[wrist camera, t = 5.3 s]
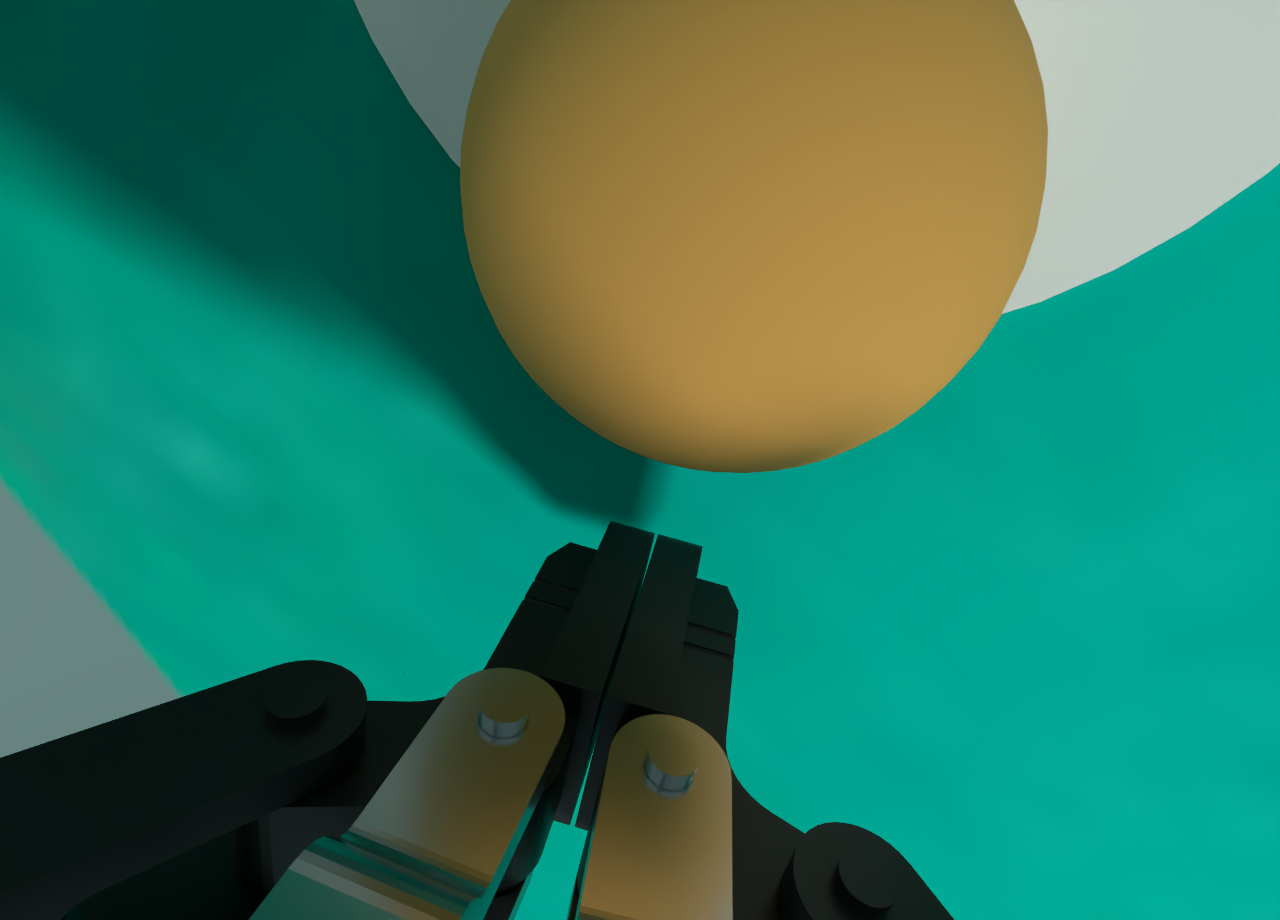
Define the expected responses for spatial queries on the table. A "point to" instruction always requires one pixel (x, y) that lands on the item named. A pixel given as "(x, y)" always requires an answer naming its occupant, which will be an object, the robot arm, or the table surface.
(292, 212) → the table surface
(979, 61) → the ball
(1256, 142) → the disc
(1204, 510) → the table surface
